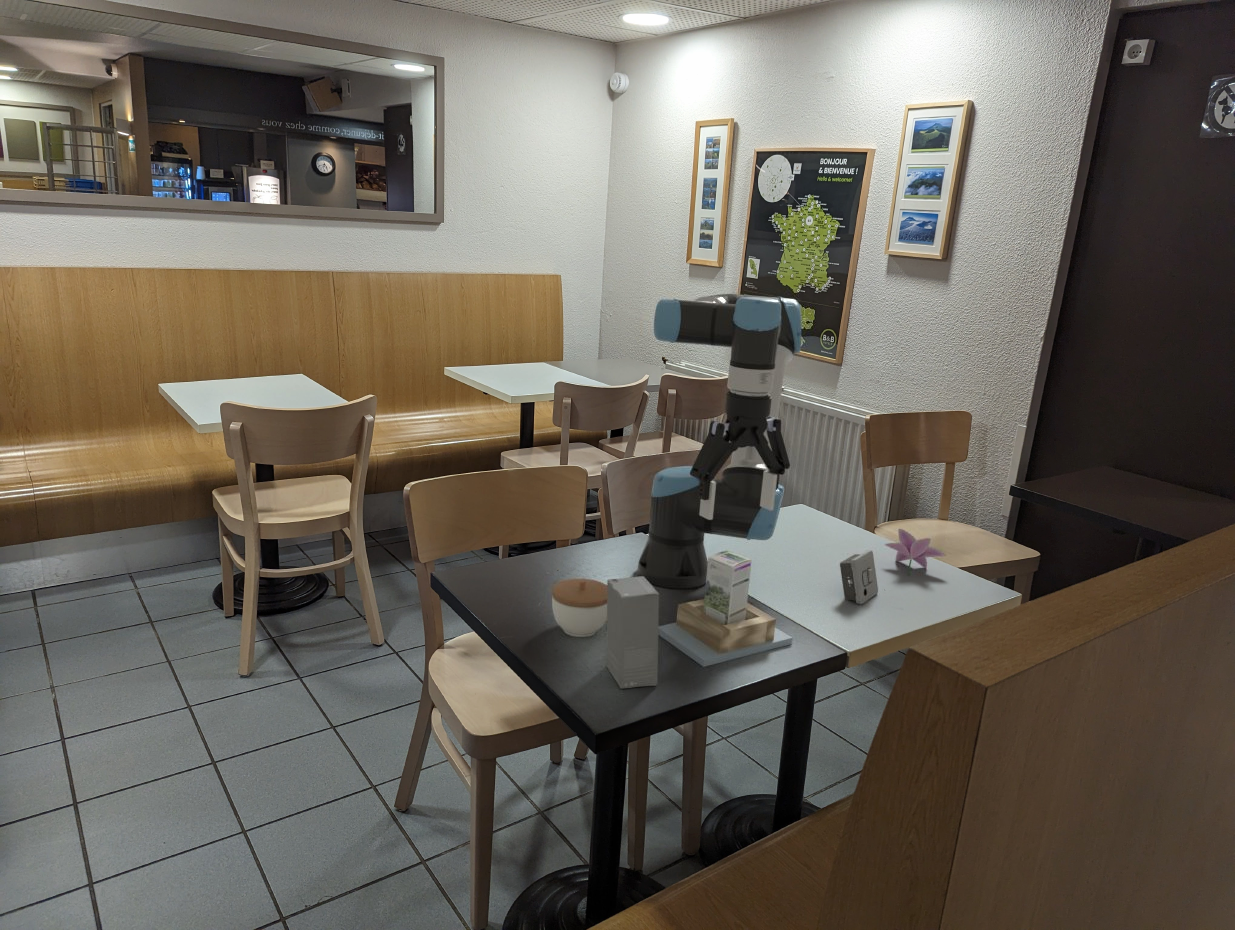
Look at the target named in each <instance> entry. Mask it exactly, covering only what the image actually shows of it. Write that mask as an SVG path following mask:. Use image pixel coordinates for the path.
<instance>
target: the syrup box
mask: <svg viewBox="0 0 1235 930" xmlns="http://www.w3.org/2000/svg"><path fill="white" fill-rule="evenodd" d="M707 561H708V566H707V577H706V583H705V587H704V588H705V591H704V598H703V599H704V611H703V613H704V614H706V615H707V616H709V617H710V618H712V619H714V620H715V621H717V622H718V623H720V624H722V625H727V624H731V623H736V622H740V621H744V620H745V618H746V608H747V603H748V599H749V598H748V597H749V587H750V581H751V580H750V579H751V573H752V572H751V570H752V559H751V558H748V557H745V556H743V555H740V554H737V553H734V552H732V551H728V550H723V551H719V552H717V553H714V554H712V555H710V556H708V557H707Z"/></svg>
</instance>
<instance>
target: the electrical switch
mask: <svg viewBox="0 0 1235 930" xmlns="http://www.w3.org/2000/svg"><path fill="white" fill-rule="evenodd" d="M875 563H876V562H875V555H874V552H873V550H866V551H864V552H863V553H861V554H859V553H854V554H853V555H851V556H850V557H848V558H846V559H845V560H844V559H843V560H842V561H840V562H839V569H840V574H841V575H840V576H841V581H842V583H841V584H842V590H843V595H844V600H847V601H855V602H856V604H857V605H863V604H864V603H866V602H868V601H869V600H871V599H872V598H873V597H874V596H876V595H878V592H879V587H878V579H877V572H876V566H875V565H876V564H875Z"/></svg>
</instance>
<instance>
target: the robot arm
mask: <svg viewBox="0 0 1235 930" xmlns="http://www.w3.org/2000/svg"><path fill="white" fill-rule="evenodd" d="M653 320H654V321H653V333H654V337H655V339H656V340H658V341H660V342H661V341H662V342H667V343H671V344H674V343H676V344H689V345H703V346H704V345H705V346H712V347H723V348H724V347H725V348H731V351H730V360H729V365H728V376H727V388H728V389H729V390H728V391H727V392H726V396H725V397H726V398H725V405H724V406H725V407H724V408H725V409H724V410H725V411H724V412H725V413H726V419H725V422H718V421H716V420H711V422H710V423H709V427H708V434H707V436H706V438H705V440H704V442H703V444H702V446H701V449H699V450H700V451H699V452H698V454H697V456H696V459H695V461H694V463H693V464H692V465H683V466H673V467H668V468H665V469H663V470H659V472H657V473H656V474H655V476H654V478H653V481H652V489H651V492H650V496H651V497H650V498H651V501H650V512H649V513H650V514H649V525H648V526H649V527H648V537H647V541H646V542H645V546H644V548H643V550H642V553H641V555H640V557H639V559H638V562H637V563H638V564H637V575H638V577H640V576H644V577H645V578H646V580H647V581H648V582H649V583H650V584H651V585H654V586H657V587H662V588H667V589H683V590H685V589H694V588H697V587H698V588H699V587H701V586H704V585H706V577H707V566H708V557H707V553H706V548H705V541H704V539H705V534H708V535H716V536H724V537H730V538H736V539H737V538H739V539H746V540H747V541H751V540H756V541H767V540H769V539H771V538H772V537H773V535H774V532H775V529H776V527H777V523H778V518H779V514H780V510H781V506H782V501H783V498H784V493H785V487H784V485H782V484H779V483H780V482H779V481H780V475H784V474H785V473H786V470H788V469H790V467H791V464H790V460H789V456H788V453H787V452H788V451H787V448H786V444H785V442H784V437H783V434H782V420H781V419H780V418H779V415H780V406H781V399H782V390H783V383H784V382H783V381H784V374H785V367H786V366H787V365H788V364H790V363H791V362H792V361H793V358H794V355H796V354H799V353H801V349H802V309H801V305H800V303H799V301H798V300H796V299H795V298H785V297H782V296H777V297H774V296H762V295H761V296H760V295H753V294H752V295H750V294H738V293H721V294H713V295H707V296H701V297H698V298H696V299H694V300H687V299H686V300H683V299H677V298H673V299H667V298H666V299H664V298H662V299H660V300H659V301H657V304H656V307H655V310H654V318H653ZM730 456H731V461H730V463H729V464H728V465H727V466H725V467H724V465H725V464H726V462H727V461H728V459H729V458H730ZM723 467H724V468H723ZM722 468H723V469H722ZM721 469H722V472H721V478H720V477H718V478H717V477H716V476H717V474H718V473H719V472H720V470H721Z"/></svg>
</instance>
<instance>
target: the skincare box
mask: <svg viewBox="0 0 1235 930" xmlns="http://www.w3.org/2000/svg"><path fill="white" fill-rule="evenodd" d="M606 585H607V620H606V667H607V670H608V671H609V672H610V674H611V676H612V678H613V679H614V680H615V682H616V683H617V685H618V686H619V688H620V689H632V688H639V687H652V686H657V685H658V680H659V679H658V674H659V671H658V667H659V663H658V662H659V635H658V626H659V621H660V620H659V616H660V615H659V611H660V609H659V608H660V593H659V592H658V591H657V590H656V589H655V587H654V586H653V584H651V583H649V582H648V581H647V580H646V578H645V577H644V576H640V577H639V576H634V577H633V576H632V577H622V578H621V577H619V578H611V579H607V582H606Z"/></svg>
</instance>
